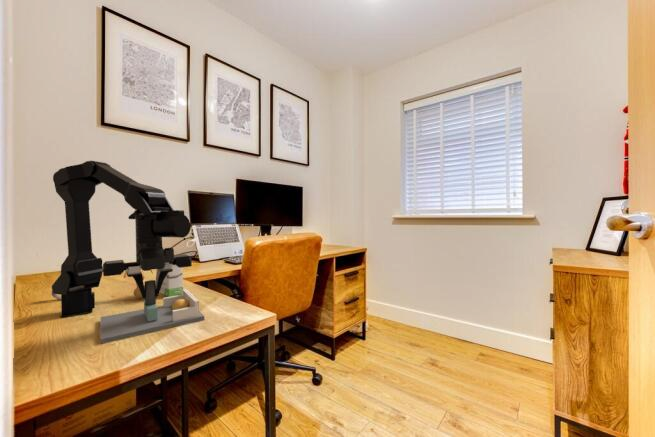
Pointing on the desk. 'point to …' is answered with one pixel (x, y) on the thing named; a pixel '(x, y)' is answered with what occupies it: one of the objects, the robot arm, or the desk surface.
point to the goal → (184, 312)
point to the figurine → (137, 291)
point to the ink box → (173, 282)
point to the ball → (180, 304)
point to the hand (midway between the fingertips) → (150, 297)
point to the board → (139, 323)
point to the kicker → (150, 300)
